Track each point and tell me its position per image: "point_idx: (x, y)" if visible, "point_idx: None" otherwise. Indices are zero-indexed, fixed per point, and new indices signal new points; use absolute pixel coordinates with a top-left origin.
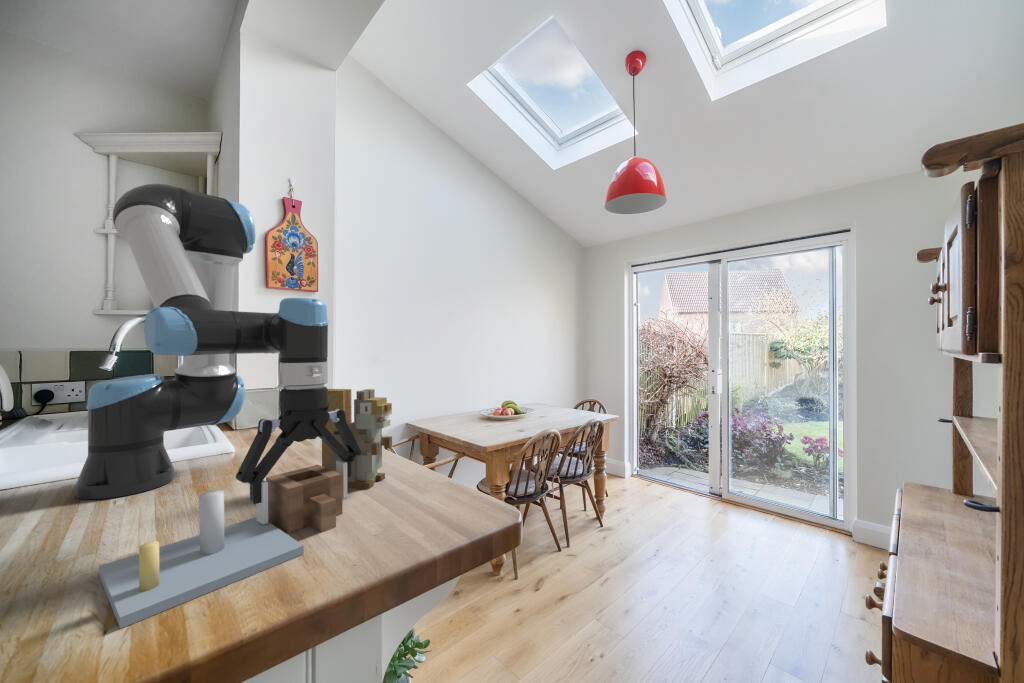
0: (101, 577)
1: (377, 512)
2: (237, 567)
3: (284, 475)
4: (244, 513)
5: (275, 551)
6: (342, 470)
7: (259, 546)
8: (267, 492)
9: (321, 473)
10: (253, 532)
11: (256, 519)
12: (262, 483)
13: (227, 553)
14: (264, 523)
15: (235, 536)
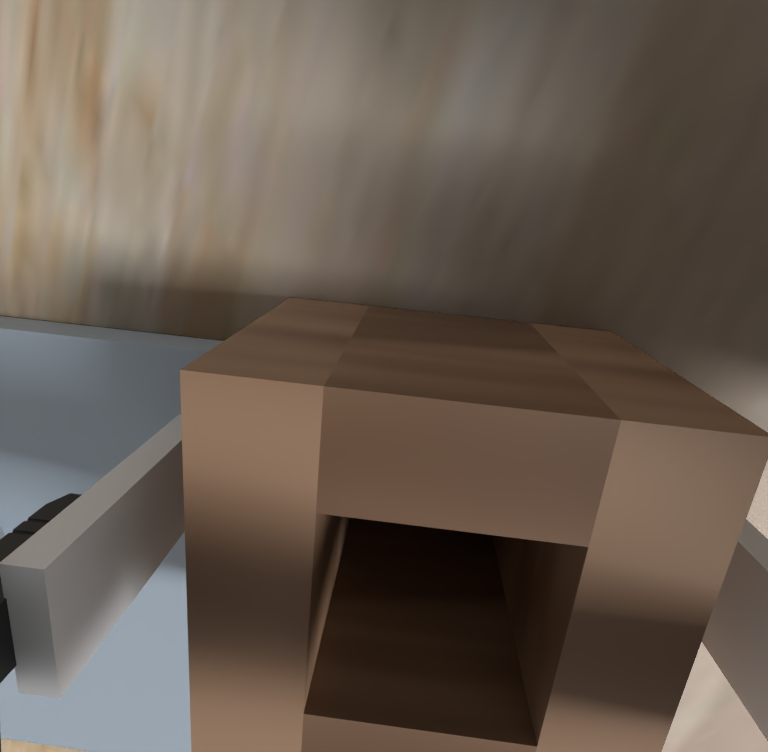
0: None
1: None
2: (13, 719)
3: (327, 475)
4: (234, 91)
5: (137, 731)
6: (762, 708)
7: (108, 656)
8: (108, 627)
9: (555, 708)
10: None
11: (178, 415)
12: (19, 684)
13: None
14: None
15: (59, 494)
